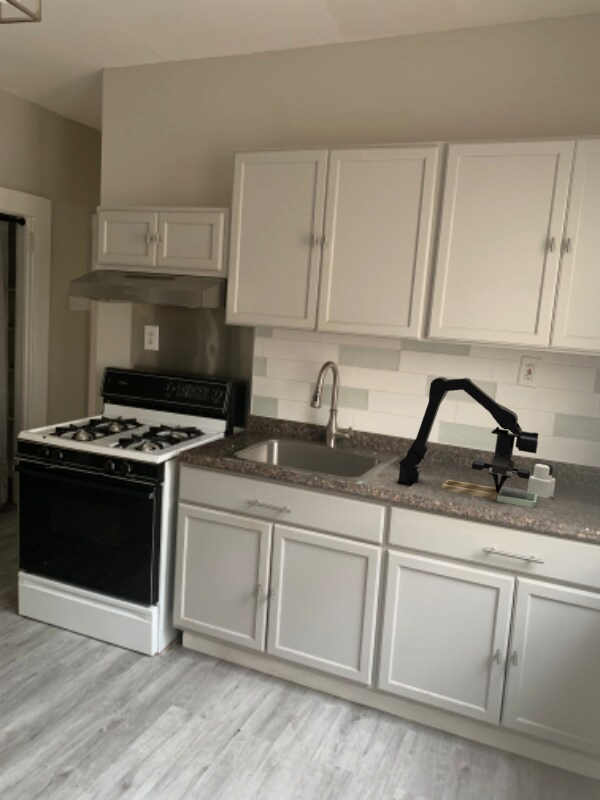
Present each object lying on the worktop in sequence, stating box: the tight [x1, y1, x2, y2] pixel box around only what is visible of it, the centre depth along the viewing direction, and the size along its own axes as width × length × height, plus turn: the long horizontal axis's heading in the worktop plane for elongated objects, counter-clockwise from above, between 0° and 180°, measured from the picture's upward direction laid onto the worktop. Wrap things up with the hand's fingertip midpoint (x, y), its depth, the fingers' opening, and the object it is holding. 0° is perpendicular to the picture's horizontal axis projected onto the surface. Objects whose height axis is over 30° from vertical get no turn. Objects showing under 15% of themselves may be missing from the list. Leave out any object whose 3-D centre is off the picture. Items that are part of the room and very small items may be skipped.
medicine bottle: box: [526, 462, 556, 499], centre depth 221 cm, size 7×7×12 cm
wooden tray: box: [441, 479, 500, 501], centre depth 218 cm, size 18×9×3 cm, turn 66°
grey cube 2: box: [500, 485, 515, 498], centre depth 213 cm, size 4×4×4 cm
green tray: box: [496, 487, 539, 509], centre depth 212 cm, size 12×12×3 cm
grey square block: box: [513, 488, 528, 500], centre depth 211 cm, size 4×4×4 cm
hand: (497, 493), depth 214 cm, fingers closed
